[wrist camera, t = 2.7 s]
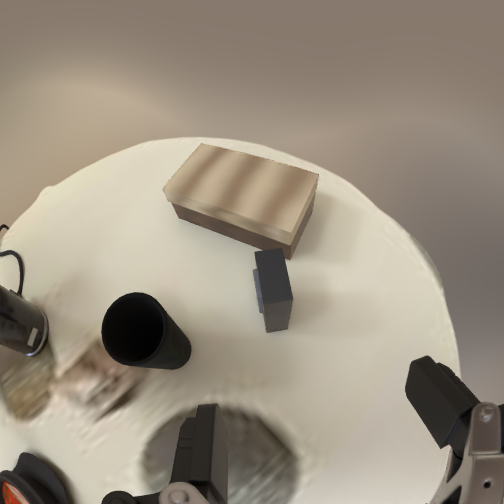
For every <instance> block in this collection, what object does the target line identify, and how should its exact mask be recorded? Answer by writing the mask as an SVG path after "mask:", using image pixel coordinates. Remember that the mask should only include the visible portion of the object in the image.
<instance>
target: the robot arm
mask: <svg viewBox="0 0 504 504" xmlns="http://www.w3.org/2000/svg"><path fill="white" fill-rule="evenodd" d="M2 228H6V229H7V230H9V227H8V226H7V225H4V224H3V225H1V226H0V231H1V229H2ZM7 254H12V255H14V256H15V257H16V258H17V260H18V263H19V268H20V285H19V290H18V292H17V293H16V292H14V291H12V290H11V289H10V291H9V290H7V289H6V288H4V287H3V286H1V285H0V344H1V345H3V346H6V347H8V348H11V349H13V350H16V351H18V352H21V353H23V354H25V355H28V356H35V355H37V354H39V353H40V352H41V350H42V349H43V347H44V345H45V343H46V340H47V336H48V321H47V317H46V315H45V313H44V312H43V311H42V310H41V309H39V308H38V307H36V306H33V305H31V304H30V303H28V302H27V301H25V300H23V298H22V297H21V296H20V295H21V292H22V285H23V266H22V261H21V258H20V256H19V255H18V254H17V253H16V252H14V251H12V250H7V251H4V252H1V253H0V256H4V255H7ZM405 392H406V396H407V398H408V400H409V401H410V403H411V404H412V406H413V407H414V409H415V410H416V412H417V413H418V415H419V416H420V418H421V419H422V421H423V422H424V424H425V425H426V427H427V429H428V430H429V432H430V433H431V435H432V436H433V438H434V439H435V441H436V443H437V444H438V446H439V447H440V449H441V448H443V447H445V446H447V445H450V446H451V449H450V452H449V457H448V462H447V467H446V471H445V476H444V480H443V484H442V487H441V489H440V491H439V493H438V495H437V497H436V499H435V501H434V504H502V503H503V497H504V404H502V405H499V406H497V405H495V404H494V403H491V402H480V401H479V400H478V399H477V398H476V397H475V395H474V394H473V393H472V392H471V391H470V390H469V389H468V388H467V387H466V385H465V384H464V383H463V382H461V381H460V379H459V378H458V377H457V376H455V373H454V372H453V371H452V370H451V369H450V368H449V367H447V366H445V365H443V364H441V363H437V364H436V363H435V361H434V360H433V359H432V358H431V357H430V356H424V357H421V358H419V359H416V360H414V361H412V362H411V364H410V368H409V373H408V377H407V382H406V386H405ZM178 438H179V440H178V442H177V448H176V453H175V459H174V464H173V470H172V476H171V480H170V482H169V484H168V485H167V486H165V487H164V488H163V489H162V490H161V491H160V492H158V493H155V494H150V495H143V496H136V497H133V496H132V495H131V494H129V493H127V492H124V491H113V492H110V493H109V494H107V495H106V496H105V497H104V498H103V500H102V503H101V504H227V493H228V431H227V427H226V424H225V421H224V418H223V416H222V413H221V410H220V407H219V405H218V404H217V403H216V404H202V405H198V408H197V415H196V417H193V418H187V419H186V420H185V422H184V423H183V424H182V426H181V427H180V432H179V437H178ZM426 504H427V503H426Z"/></svg>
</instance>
